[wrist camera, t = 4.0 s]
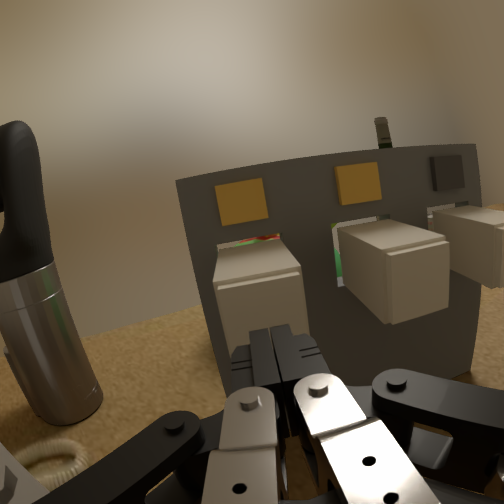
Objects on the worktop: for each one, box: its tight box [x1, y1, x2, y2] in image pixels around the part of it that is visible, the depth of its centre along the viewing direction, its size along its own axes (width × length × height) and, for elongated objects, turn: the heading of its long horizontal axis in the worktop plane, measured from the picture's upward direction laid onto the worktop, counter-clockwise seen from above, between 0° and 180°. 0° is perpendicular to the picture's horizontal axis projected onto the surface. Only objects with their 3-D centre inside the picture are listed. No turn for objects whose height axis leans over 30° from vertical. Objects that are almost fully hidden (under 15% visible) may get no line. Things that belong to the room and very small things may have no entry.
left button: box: [213, 239, 310, 358], centre depth 18 cm, size 4×8×4 cm, turn 3°
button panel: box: [176, 144, 482, 429], centre depth 24 cm, size 24×3×22 cm, turn 93°
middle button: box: [337, 219, 450, 325], centre depth 18 cm, size 4×8×4 cm, turn 3°
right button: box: [432, 205, 504, 289], centre depth 18 cm, size 4×8×4 cm, turn 3°
